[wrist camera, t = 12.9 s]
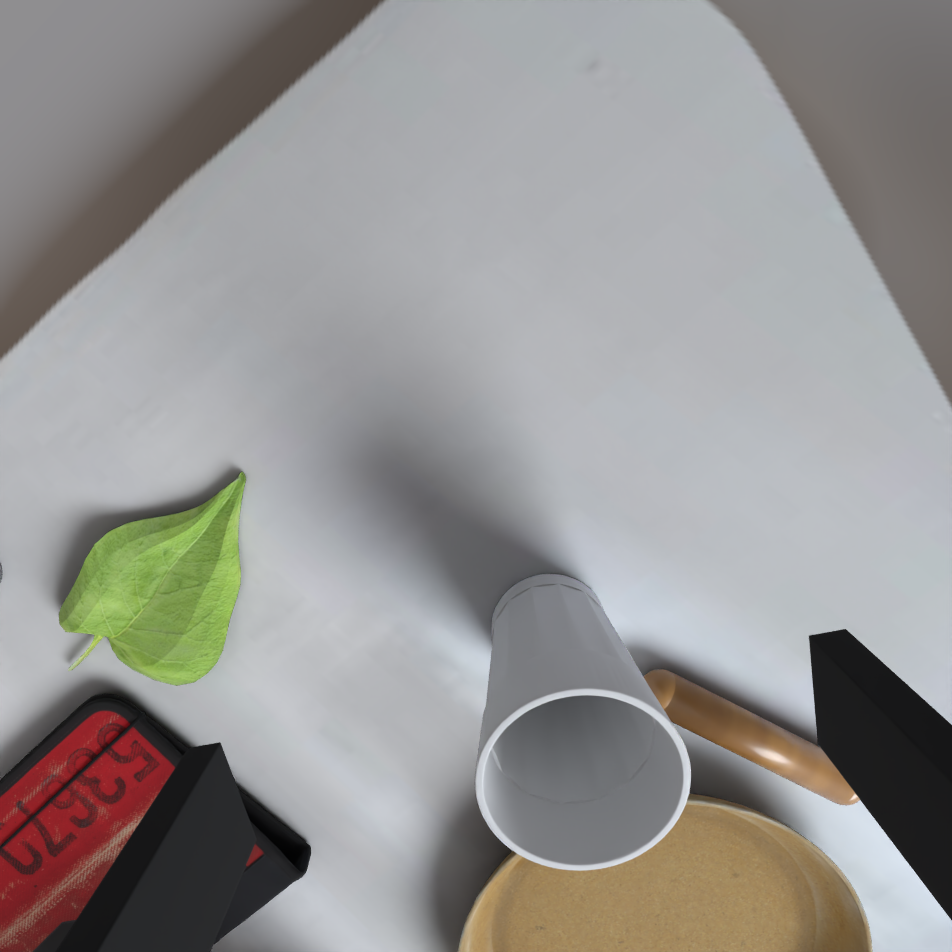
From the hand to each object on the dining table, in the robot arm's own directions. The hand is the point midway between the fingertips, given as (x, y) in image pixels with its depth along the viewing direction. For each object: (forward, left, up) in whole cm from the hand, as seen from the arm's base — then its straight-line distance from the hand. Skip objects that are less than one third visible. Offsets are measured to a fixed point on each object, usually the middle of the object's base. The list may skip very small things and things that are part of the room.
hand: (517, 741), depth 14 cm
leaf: (+13, -13, -20) cm, 27 cm away
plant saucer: (+20, +22, -20) cm, 36 cm away
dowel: (+5, +19, -20) cm, 28 cm away
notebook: (+32, -10, -20) cm, 39 cm away
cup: (+5, +6, -20) cm, 22 cm away
